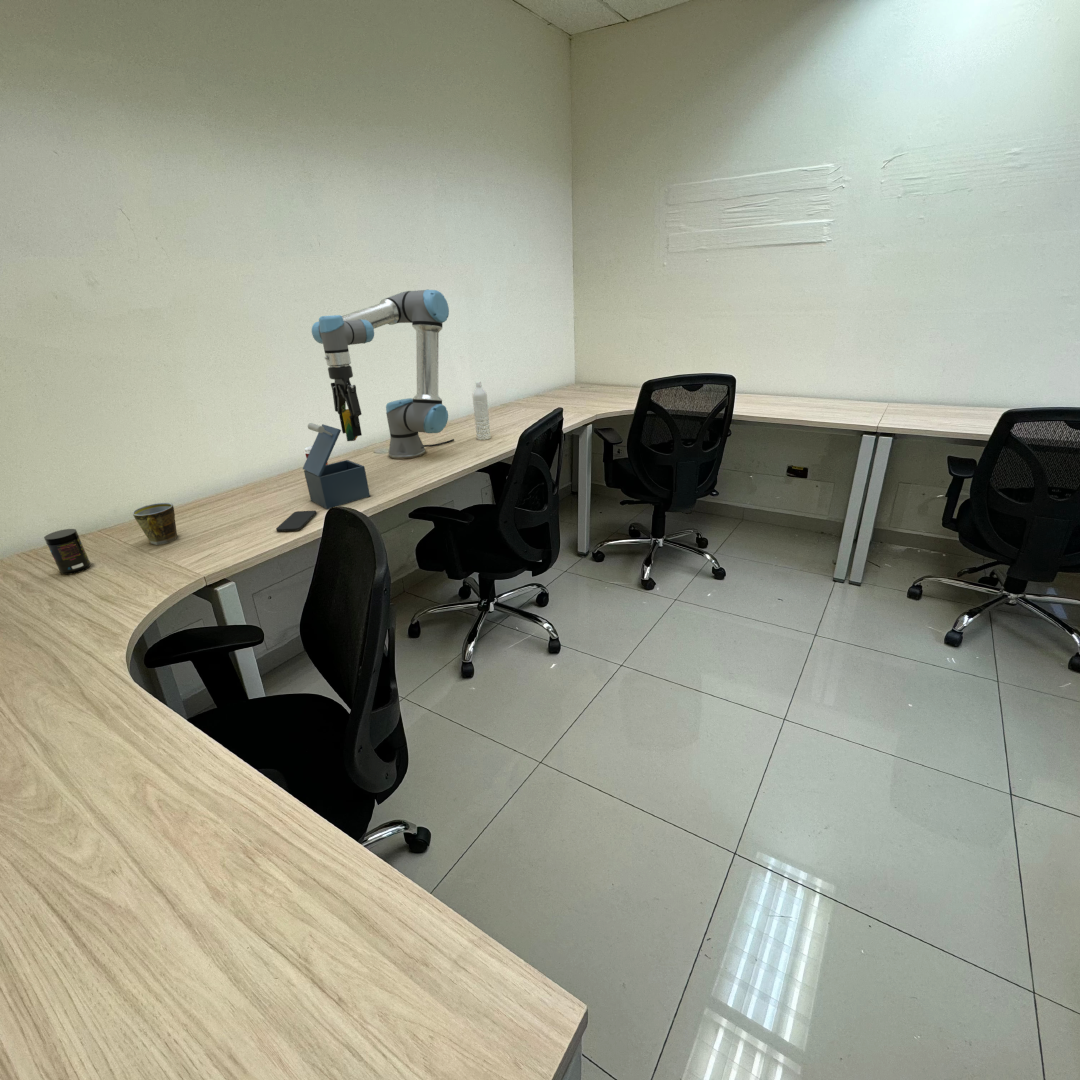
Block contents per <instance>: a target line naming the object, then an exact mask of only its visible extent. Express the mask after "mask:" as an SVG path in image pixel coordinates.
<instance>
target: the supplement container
mask: <svg viewBox="0 0 1080 1080" xmlns="http://www.w3.org/2000/svg"><path fill="white" fill-rule="evenodd" d="M43 539H44V541H45V544H46V545H47V547H48V549H49V552H50V554H51V556H52V558H53V560H54V563H55V565H56V566H57V568H58V572H60V573H61V574H63V575H73V574H78V573H80V572H84V571H85V570H87V569H89V568H90V567H91V560H90V559H89V556H88V554H87V551H86V550H85V547H84V545H83V543H82V540H81V538H80V535H79V533H78V530H77V529H76V528H65V529H60V530H56V531H53V532H50V533H47V534H46V535H45V536H43Z"/></svg>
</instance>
